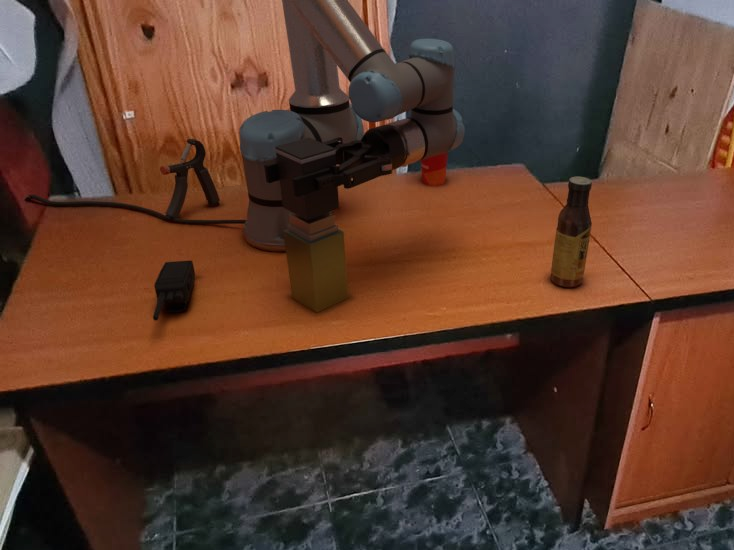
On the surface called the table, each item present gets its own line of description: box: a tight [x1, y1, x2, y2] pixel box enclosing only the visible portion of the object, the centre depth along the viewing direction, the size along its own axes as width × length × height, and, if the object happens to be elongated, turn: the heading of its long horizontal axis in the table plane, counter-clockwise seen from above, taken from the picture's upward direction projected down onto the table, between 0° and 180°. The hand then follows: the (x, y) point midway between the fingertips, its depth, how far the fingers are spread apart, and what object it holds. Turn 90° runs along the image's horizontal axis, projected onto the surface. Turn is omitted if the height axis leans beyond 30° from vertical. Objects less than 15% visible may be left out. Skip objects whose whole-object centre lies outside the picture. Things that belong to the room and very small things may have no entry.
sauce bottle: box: [550, 175, 593, 288], centre depth 125 cm, size 7×6×20 cm
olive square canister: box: [283, 212, 349, 314], centre depth 117 cm, size 7×7×16 cm
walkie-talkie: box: [152, 259, 196, 321], centre depth 115 cm, size 6×6×20 cm
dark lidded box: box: [275, 138, 340, 220], centre depth 108 cm, size 6×6×10 cm
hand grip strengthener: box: [159, 138, 221, 220], centre depth 141 cm, size 2×12×15 cm, turn 146°
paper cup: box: [420, 151, 449, 187], centre depth 162 cm, size 8×8×14 cm
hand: (280, 180), depth 105 cm, fingers closed on dark lidded box, 6 cm apart
